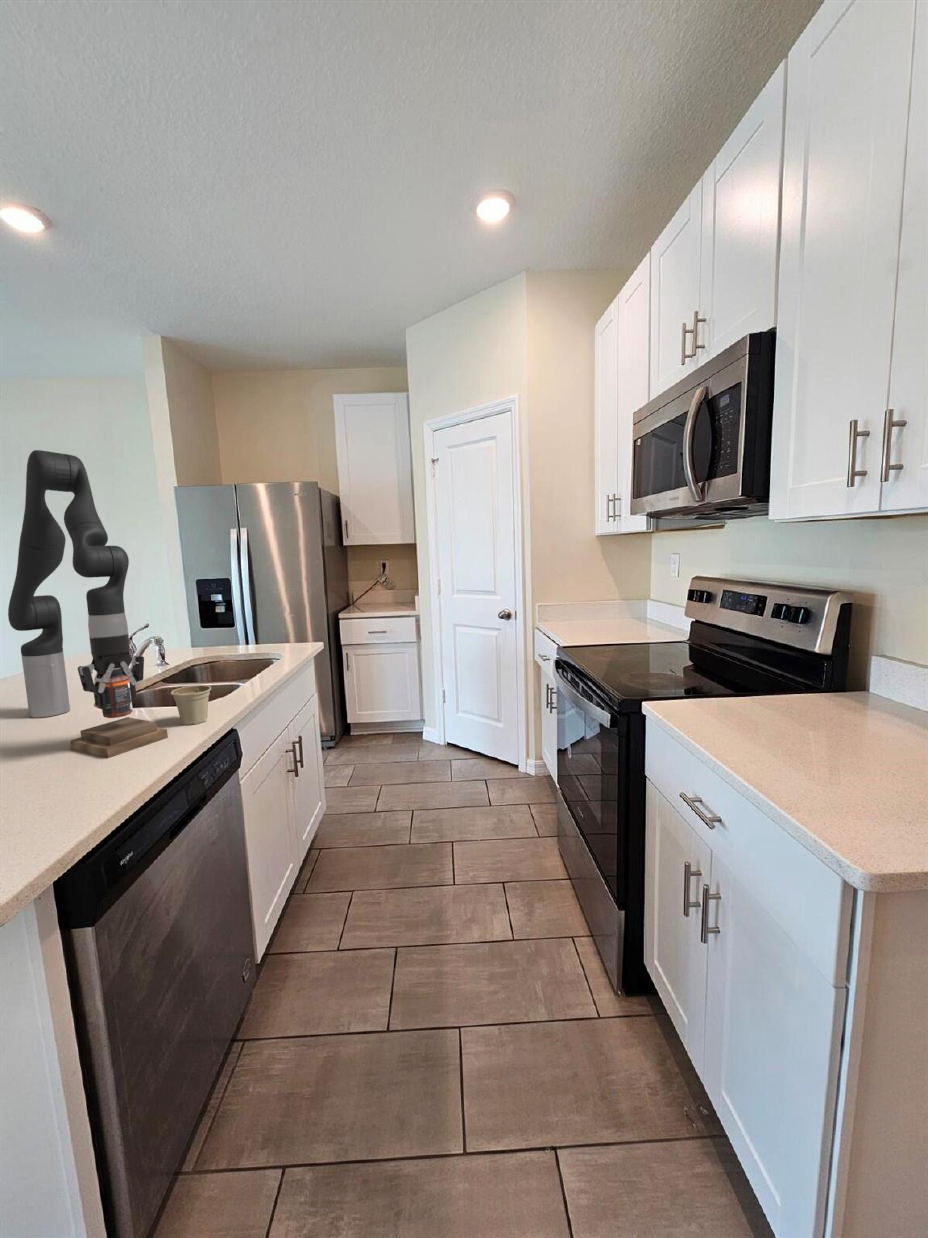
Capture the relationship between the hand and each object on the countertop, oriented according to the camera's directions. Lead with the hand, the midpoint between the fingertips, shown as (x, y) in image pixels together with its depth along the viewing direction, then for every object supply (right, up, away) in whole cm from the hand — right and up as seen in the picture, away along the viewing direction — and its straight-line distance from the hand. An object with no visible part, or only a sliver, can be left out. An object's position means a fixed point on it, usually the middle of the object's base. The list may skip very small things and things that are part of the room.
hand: (116, 704), depth 126 cm
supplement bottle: (0, -3, 0) cm, 3 cm away
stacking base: (0, -9, +1) cm, 9 cm away
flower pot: (+10, -7, +16) cm, 21 cm away
